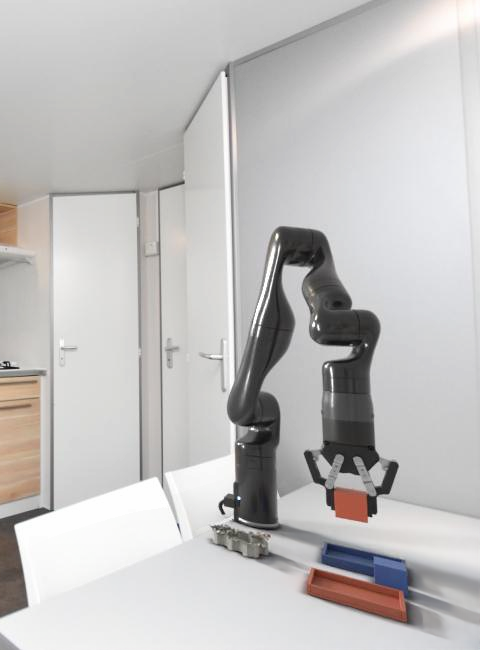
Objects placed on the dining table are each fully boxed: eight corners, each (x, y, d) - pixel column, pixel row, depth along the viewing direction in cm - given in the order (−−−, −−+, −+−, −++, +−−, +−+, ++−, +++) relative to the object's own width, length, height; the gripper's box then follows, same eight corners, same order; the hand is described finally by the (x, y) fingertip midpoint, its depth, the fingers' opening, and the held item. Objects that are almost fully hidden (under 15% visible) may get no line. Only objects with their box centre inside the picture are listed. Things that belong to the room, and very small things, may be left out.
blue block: (374, 588, 87) (373, 563, 88) (374, 580, 91) (373, 555, 91) (408, 597, 85) (406, 571, 85) (406, 588, 88) (405, 563, 88)
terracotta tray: (306, 593, 85) (306, 583, 85) (311, 576, 92) (311, 566, 92) (406, 623, 76) (406, 612, 77) (403, 601, 83) (403, 590, 84)
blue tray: (321, 563, 98) (321, 554, 98) (324, 549, 105) (324, 541, 105) (408, 585, 89) (408, 575, 90) (405, 568, 96) (405, 560, 97)
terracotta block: (335, 517, 85) (334, 491, 86) (336, 511, 89) (335, 486, 89) (367, 523, 82) (366, 496, 83) (367, 517, 86) (366, 491, 86)
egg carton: (274, 555, 101) (273, 535, 102) (250, 560, 98) (250, 540, 99) (228, 536, 111) (228, 518, 111) (206, 540, 108) (206, 521, 108)
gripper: (398, 419, 86) (403, 517, 84) (302, 411, 95) (305, 499, 93) (400, 423, 80) (406, 528, 78) (298, 414, 89) (301, 508, 87)
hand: (351, 512), depth 86 cm, fingers closed on terracotta block, 4 cm apart
